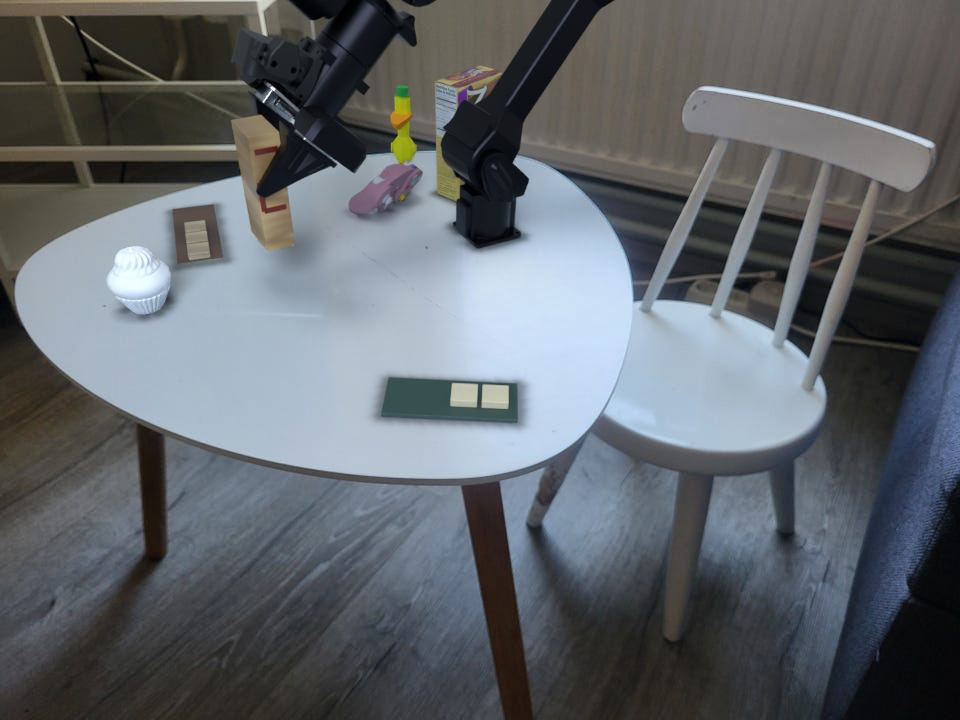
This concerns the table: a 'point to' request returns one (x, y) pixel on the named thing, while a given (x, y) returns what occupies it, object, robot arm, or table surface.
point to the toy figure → (402, 126)
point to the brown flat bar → (196, 234)
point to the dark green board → (450, 400)
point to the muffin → (139, 280)
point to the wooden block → (254, 157)
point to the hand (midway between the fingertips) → (250, 184)
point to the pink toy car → (386, 188)
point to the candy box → (447, 100)
